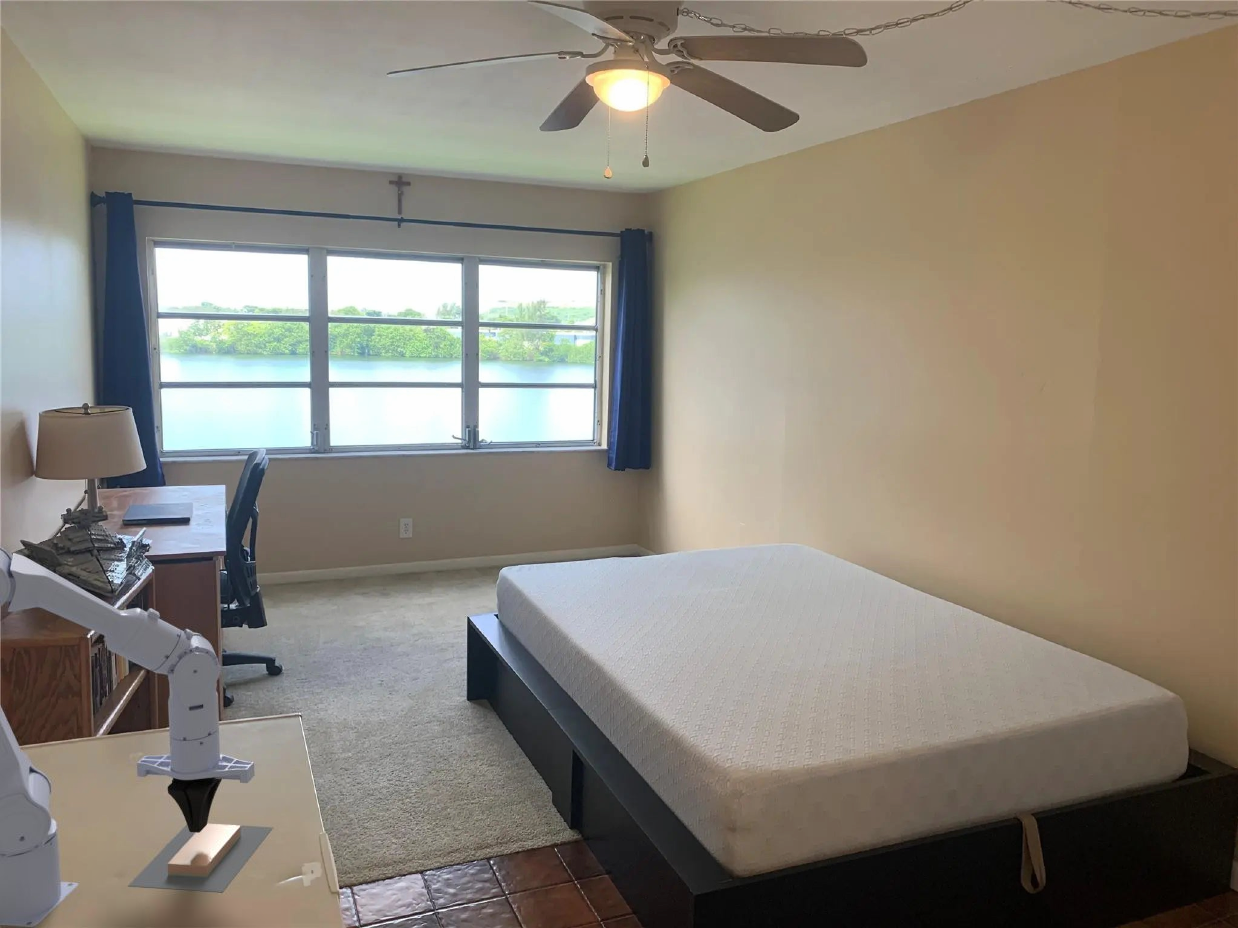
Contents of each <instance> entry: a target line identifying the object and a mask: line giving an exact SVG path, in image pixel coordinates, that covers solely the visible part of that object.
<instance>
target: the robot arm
mask: <svg viewBox="0 0 1238 928" xmlns="http://www.w3.org/2000/svg"><path fill="white" fill-rule="evenodd" d="M6 602H8V607H7V612H9V613H10V612H11V613H12V612H18V611H24V610H28V609H32V608H33V609H34V608H41V609H43V610H45V611H48V612H50V613H52V614H54V615H57V616H59V617H62V618H63V619H66V620H68V621H70V622H73V623H74V624H78V625H80V626H82V627H84V628H86V629H89V630H90V631H93V632H96V633H98V634H100V635H103V636H104V639H105V644H106V649H107V650H108V651H110V652H112V653H114V654H116V655H117V656H120V657H122V658H124V659H126V660H129V661H130V662H132V663H135V664H136V665H139V666H140V667H142V668H145V669H147V670H149V671H152V672H153V673H156V674H162V675H165V676H167V679H168V682H169V687H168V688H169V697H168V701H167V704H168V705H167V706H168V708H167V710H168V725H169V726H168V727H169V728H168V729H169V730H168V731H169V752H170V754H161V755H145V756H143V757H142V758H141V759H140V760H139V761H138V762H137V763H136V773H137V774H136V775H137V777H138V778H139V777H140V778H145V777H147V776H148V775H152V776H167V777H170V778H172V780H171V782H170V784H168V786H167V793H168V795H170V796H171V798H172V799H173V800H174V801H175V803H176V804H177V806H178V807H179V808H180V811H181V813H182V815H183V817H184V820H185V822H186V825H188V828H189V831H190V832H197V833H199V832H201V831H202V830H203V828H204V827H205V826H206V825H207V823H208V821H209V815H210V812H211V811H210V810H211V807H212V804H213V801H214V797H215V796H216V793H217V790H218V789H219V787H220V784H221V782H222V780H233V781H239V783H241V784H248V783H250V781H251V780H252V779H253V778H254V777H255V762H254V761H246V760H242V759H239V758H235V757H232V756H228V755H225V754H223V753H221V751H220V750H221V747H220V746H221V745H220V722H219V721H220V719H219V717H220V716H219V715H220V714H219V713H220V712H219V694H218V692H217V685H218V684H217V683H218V682H217V681H218V680H219V678H220V676H221V673H222V666H221V665H220V661H219V658H218V657H217V655H216V653H215V650H214V647H213V646H212V644H211V642H210V641H209V640H207V639H206V638H205V637H204V636H203V635H202V634H201V633H198V632H193V631H192V630H190V629H188V628H185V629H184V630H182V629H180V628H178V627H176V626H174V625H173V624H170V623H168V622H167V621H164V620H163V619H161V615H160V612H159V611H157V610H156V609H153V608H152V607H151V608H148V609H147V610H146V611H145V610H144V609H142V608H139V607H135V608H128V609H122V610H120V609H118V608H116V607H115V606H113V605H111V604H109V603H108V602H106V601H104V600H103V599H100V598H99V597H97V596H95V595H93V594H91V593H90V592H88V591H86V590H85V589H83V588H81V587H80V586H78V585H76V584H74V583H72V582H70V581H69V580H68V579H65V578H64V577H62V576H60V575H58V574H56V573H55V572H53V571H51V570H49V569H47V568H46V567H44V566H42V565H40V564H39V563H37V562H36V561H33V560H31V559H30V558H28V557H26V556H24V555H22V554H18V553H15V552H12V556H11V554H10V553H9V552H8V551H7V549H5V548H4V547H2V546H0V608H1V607H2V606H3V605H4V604H5V603H6ZM51 793H52V783H51V780H50V777H48V776H47V774H46V773H44V772H43V771H41V770H40V769H38V768H37V767H35V766H34V765H33V763H32V762H31V759H30V758H29V755H27V753H26V752H23V750H22V749H21V747H20V745H19V743H18V741H17V738H16V736H15V734H14V732H13V730H12V727H11V725H10V723H9V721H8V718H7V716H6V715H5V712H4V710H3V708H2V705H0V926H11V927H26V928H32V927H36V926H37V925H39V923H41V922H42V920H44V919H45V918H46V917H47V916H48V915H49V914H50V913H51V912H52V911H53V910H54V909H55V908H57V906H58V905H60V904H61V902H62V901H64V899H66V898H67V897H68V896H69V895H70V894H71V893H72V892H73V891H74V890H75V889H76V888H77V887H78V886H79V885H80V883H78V882H72V881H71V882H70V881H62V875H61V864H60V850H59V849H60V848H59V834H58V822H57V821H56V820H55V819H53V818H52V816H51V812H50V807H51V806H50V805H51V804H50V802H51V798H50V797H51V796H50V795H51ZM28 923H29V924H28Z"/></svg>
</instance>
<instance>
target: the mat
mask: <svg viewBox="0 0 1238 928" xmlns="http://www.w3.org/2000/svg"><path fill="white" fill-rule="evenodd" d="M207 823H208V822H207ZM208 824H211V823H208ZM223 824H224V825H227V824H225V823H223ZM240 826H241V837H240V838H239V839H238V841H237V842H236V843H235V844H234V845H233V847H232V848H231V849H230V850H229V851H228V853H227V854H226V855H225V856H224V857H223V859H222V860H221V861H220V862H219V863H218V865H217V866H216V867H215V868H214V870H213V871H212V872H211V873H210V874H209V876H208V877H207V878H205V877H189V876H174V875H168V863H169V861H170V860H171V859H172V858H173V857H174V856H175V855H176V854H177V853H178V852H179V851H180V850H181V848H182V847H183V846H184V845H185V844H186V843H187V842H188V841H189V840H190V839H191V838H192V837H193V835H194V834H195V833H196V832H190V831H189V828H188V825H187V824H185V826H183V828H182V829H181V830H180V831H179V832H178V833H176V835H175V836H174V837H173V838H172V839H171V840H170V841H169V843H167V845H165V847H164V848H163V849H162V850H160V852H159V853H158V854H157V855H156V856H155V857H154V858H153V859H152V860H151V861H150V862H149V863H148V864H147V865H146V866H145V867H144V868H143V869H142V871H140V873H138V874H137V875H136V877H134V879H133V880H131V882H130V883H129V884H128V885H127V886H128V887H134V888H136V887H138V888H149V889H165V890H180V891H195V892H196V891H197V892H209V893H211V892H213V893H224V892H225V890H226V889H227V888H228V887H229V885H230V884H231V883H232V881H233V880H234V879H235V878H236V876H237V875H238V874H239V872H240V871H241V870H242V868H243V867H244V866H245V865H246V863H247V862H248V861H249V859H250V858H252V855H253V854H254V853H255V852H256V850H257V849H258V848H259V847H260V846H261V844H262V842H263V841H265V839H266V838H267V836H268V835H269V834H270V832H271V831H272V829H274V827H271V826H256V825H241V824H240Z"/></svg>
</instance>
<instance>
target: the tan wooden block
mask: <svg viewBox="0 0 1238 928" xmlns="http://www.w3.org/2000/svg"><path fill="white" fill-rule="evenodd" d="M224 824H225V823H223V824H222V823H210V824H208V822H207V825H206V826H205V827H204V828H203V830H202V831H201V832H199V833H197V832H196V833H195V834H194V835H193V837H192V838H191V839H190V840H189V841H188V842H187V843H186V844H185V845H184V846H183V847H182V848H181V850H180V851H179V852H178V853H177V854H176V855H175V856H174V857H173V858H172V859H171V860H170V861H169V863H168V875H174V876H189V877H205V878H207V877H208V876H209V874H210V873H211V872H212V871H213V870H214V868H215V867H216V866H217V865H218V863H219V862H220V861H221V860H222V859H223V857H224V856H225V855H226V854H227V853H228V851H229V850H230V849H231V848H232V847H233V845H234V844H235V843H236V842H237V841H238V839H239V838H240V837H241V826H240V825H241V824H240V825H239V824H226V825H224Z"/></svg>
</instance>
